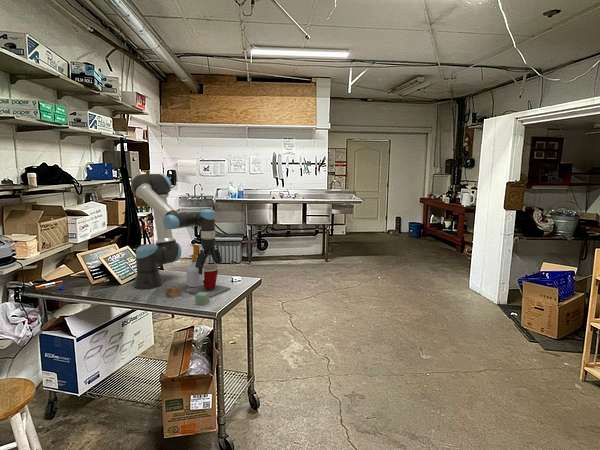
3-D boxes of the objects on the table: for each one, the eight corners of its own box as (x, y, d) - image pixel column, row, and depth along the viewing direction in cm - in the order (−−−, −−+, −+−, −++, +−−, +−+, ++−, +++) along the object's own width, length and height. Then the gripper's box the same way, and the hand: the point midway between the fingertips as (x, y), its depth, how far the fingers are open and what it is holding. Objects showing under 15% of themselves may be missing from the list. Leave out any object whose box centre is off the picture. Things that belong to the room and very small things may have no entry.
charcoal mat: (188, 292, 202) (188, 291, 202) (209, 285, 216) (209, 283, 216) (210, 297, 195) (210, 296, 194) (230, 289, 208) (230, 287, 208)
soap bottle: (184, 286, 213) (182, 244, 210) (192, 282, 222) (191, 241, 218) (197, 288, 210) (196, 245, 207) (206, 283, 219) (204, 242, 216)
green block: (195, 304, 185) (195, 294, 184) (200, 301, 190) (200, 291, 189) (204, 305, 184) (204, 295, 183) (209, 302, 188) (209, 292, 188)
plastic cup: (196, 290, 200) (196, 269, 198) (203, 284, 211) (202, 264, 209) (216, 291, 199) (216, 269, 198) (221, 285, 210) (221, 264, 208)
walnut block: (166, 296, 196) (165, 287, 195) (173, 294, 200) (173, 285, 200) (172, 298, 193) (172, 289, 193) (180, 295, 198) (179, 286, 197)
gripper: (197, 242, 189) (199, 283, 192) (227, 235, 209) (228, 273, 212) (187, 240, 193) (188, 281, 196) (217, 234, 213) (218, 271, 216)
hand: (209, 277), depth 204 cm, fingers closed on plastic cup, 11 cm apart
